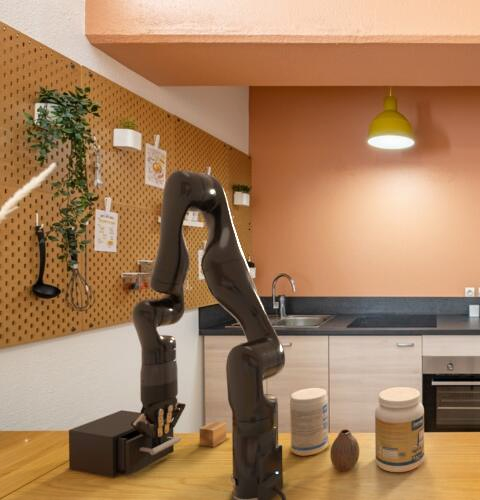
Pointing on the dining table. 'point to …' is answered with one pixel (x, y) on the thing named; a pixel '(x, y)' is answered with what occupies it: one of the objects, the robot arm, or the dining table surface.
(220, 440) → the block
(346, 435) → the vase
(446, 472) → the dining table surface
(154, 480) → the dining table surface
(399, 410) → the supplement tub
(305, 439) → the supplement tub
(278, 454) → the robot arm
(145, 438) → the drawer with bar handle
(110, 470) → the dark drawer cabinet
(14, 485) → the dining table surface
